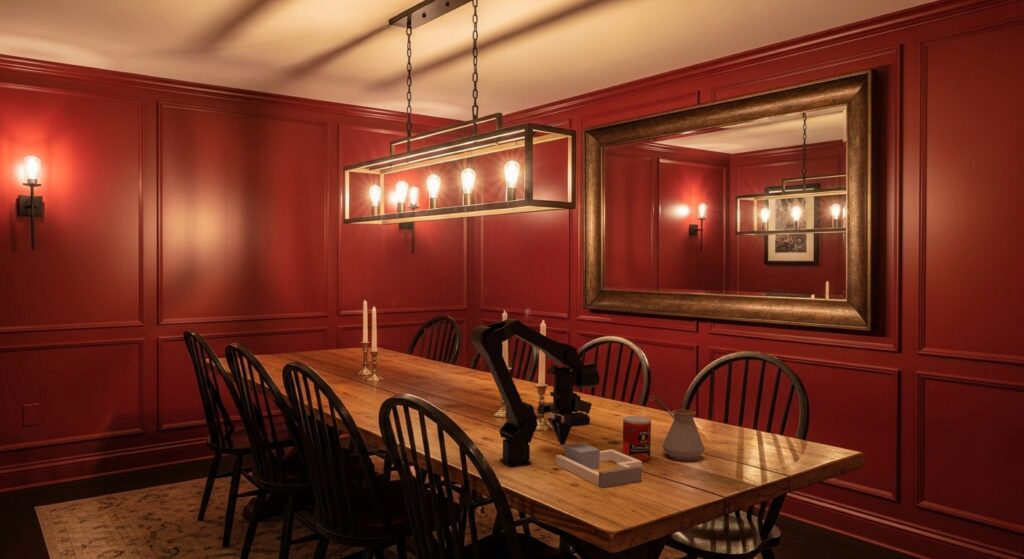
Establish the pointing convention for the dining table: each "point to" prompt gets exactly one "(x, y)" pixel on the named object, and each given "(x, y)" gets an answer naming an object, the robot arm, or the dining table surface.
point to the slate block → (583, 454)
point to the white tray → (623, 474)
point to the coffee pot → (682, 435)
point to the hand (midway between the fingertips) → (562, 444)
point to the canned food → (637, 437)
